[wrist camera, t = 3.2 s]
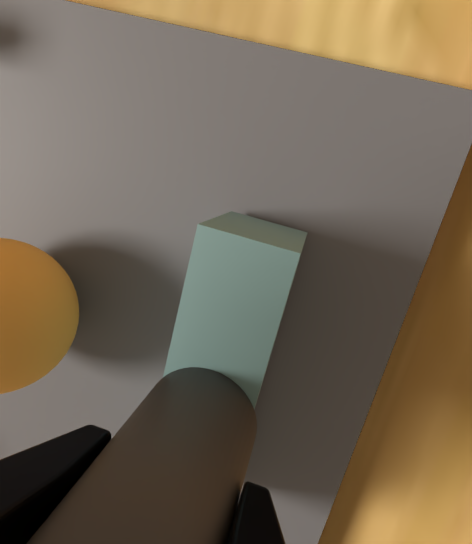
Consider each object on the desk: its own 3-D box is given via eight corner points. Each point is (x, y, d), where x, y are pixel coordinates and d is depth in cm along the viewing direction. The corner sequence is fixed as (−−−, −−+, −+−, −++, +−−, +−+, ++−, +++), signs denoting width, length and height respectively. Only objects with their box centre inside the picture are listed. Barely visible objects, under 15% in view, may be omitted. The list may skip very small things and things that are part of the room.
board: (475, 102, 10) (490, 94, 9) (292, 585, 15) (290, 614, 14) (-215, -54, 13) (-257, -71, 12) (-200, 388, 17) (-230, 400, 16)
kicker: (315, 234, 11) (268, 496, 2) (237, 490, 13) (47, 1158, 4) (224, 209, 11) (-161, 335, 2) (162, 462, 13) (-159, 1026, 4)
